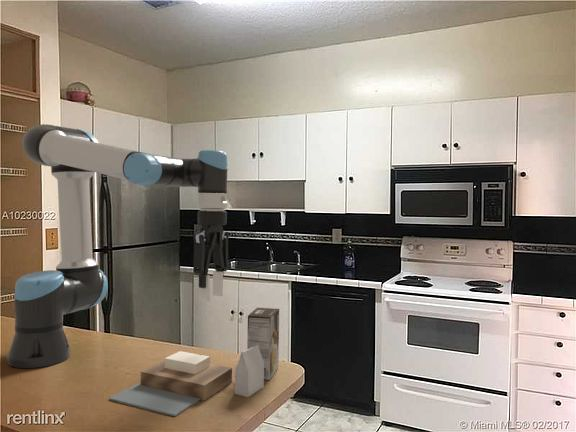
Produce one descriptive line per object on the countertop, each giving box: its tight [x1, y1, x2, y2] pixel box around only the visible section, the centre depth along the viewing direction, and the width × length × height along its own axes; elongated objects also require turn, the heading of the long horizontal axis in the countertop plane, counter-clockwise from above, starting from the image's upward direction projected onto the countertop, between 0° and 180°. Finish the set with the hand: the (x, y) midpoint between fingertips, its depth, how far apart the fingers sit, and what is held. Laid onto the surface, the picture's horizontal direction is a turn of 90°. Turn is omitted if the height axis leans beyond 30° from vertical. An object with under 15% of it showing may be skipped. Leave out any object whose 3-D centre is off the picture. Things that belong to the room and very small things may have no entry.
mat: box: [108, 383, 201, 417], centre depth 105 cm, size 18×9×1 cm, turn 66°
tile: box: [164, 350, 211, 374], centre depth 116 cm, size 9×6×2 cm, turn 66°
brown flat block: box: [140, 359, 233, 402], centre depth 114 cm, size 18×12×4 cm, turn 66°
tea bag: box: [234, 345, 265, 398], centre depth 111 cm, size 4×7×10 cm, turn 151°
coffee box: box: [246, 307, 280, 381], centre depth 122 cm, size 9×6×16 cm
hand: (211, 297), depth 124 cm, fingers open, 6 cm apart
